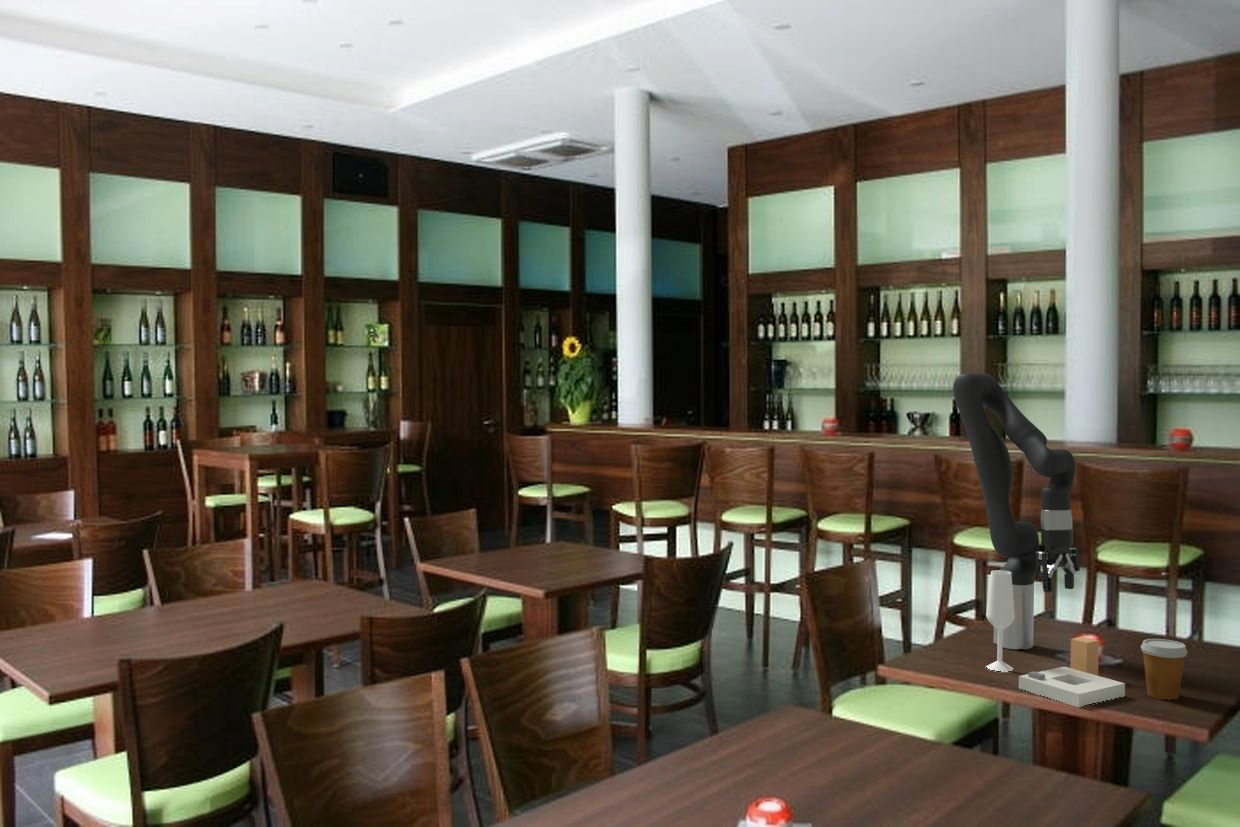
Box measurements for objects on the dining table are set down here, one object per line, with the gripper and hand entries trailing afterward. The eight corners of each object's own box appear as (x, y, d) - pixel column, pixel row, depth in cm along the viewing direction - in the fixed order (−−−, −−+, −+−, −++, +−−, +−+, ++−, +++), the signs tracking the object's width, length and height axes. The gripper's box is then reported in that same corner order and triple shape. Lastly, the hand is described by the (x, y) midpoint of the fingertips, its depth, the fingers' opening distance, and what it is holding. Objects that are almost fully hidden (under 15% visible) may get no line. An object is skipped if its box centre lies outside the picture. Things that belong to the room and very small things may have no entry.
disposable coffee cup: (1190, 704, 239) (1191, 650, 239) (1142, 699, 243) (1143, 646, 242) (1182, 691, 248) (1183, 640, 248) (1137, 688, 252) (1138, 636, 251)
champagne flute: (1016, 672, 264) (1018, 575, 263) (987, 671, 265) (989, 574, 264) (1011, 665, 271) (1012, 570, 270) (983, 664, 272) (984, 569, 271)
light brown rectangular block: (1070, 675, 262) (1070, 638, 261) (1082, 673, 264) (1082, 636, 264) (1086, 680, 258) (1086, 642, 258) (1098, 677, 260) (1098, 640, 260)
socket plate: (1018, 688, 251) (1018, 671, 251) (1064, 678, 259) (1064, 662, 259) (1078, 707, 237) (1078, 689, 237) (1124, 696, 245) (1125, 679, 245)
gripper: (1061, 524, 285) (1063, 586, 284) (1026, 528, 277) (1028, 591, 277) (1087, 526, 278) (1089, 589, 278) (1051, 530, 271) (1053, 595, 270)
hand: (1058, 590), depth 277 cm, fingers open, 8 cm apart
